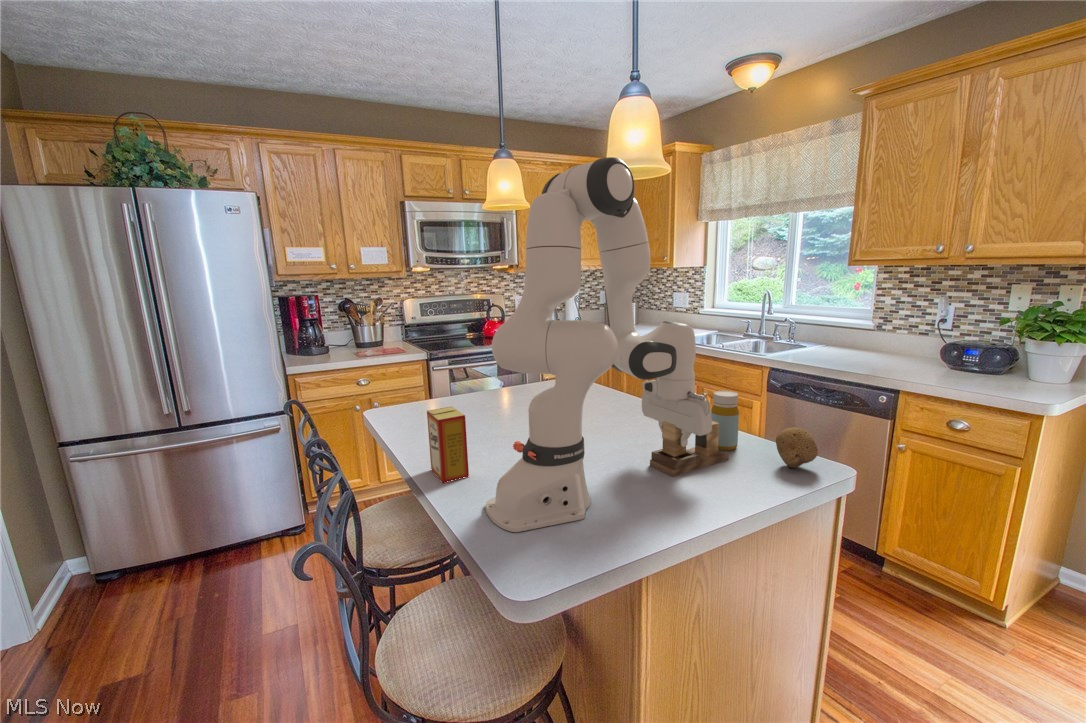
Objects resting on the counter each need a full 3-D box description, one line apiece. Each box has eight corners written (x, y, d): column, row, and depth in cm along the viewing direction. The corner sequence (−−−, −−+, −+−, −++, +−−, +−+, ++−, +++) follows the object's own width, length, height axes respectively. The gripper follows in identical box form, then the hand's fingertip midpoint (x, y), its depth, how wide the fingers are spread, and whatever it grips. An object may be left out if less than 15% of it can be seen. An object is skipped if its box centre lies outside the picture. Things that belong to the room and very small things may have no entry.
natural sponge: (811, 461, 121) (814, 423, 119) (820, 476, 113) (823, 435, 111) (771, 458, 124) (774, 421, 122) (777, 472, 115) (780, 432, 114)
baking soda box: (468, 477, 118) (465, 413, 115) (442, 483, 115) (438, 418, 112) (455, 464, 126) (451, 405, 124) (431, 469, 123) (426, 409, 120)
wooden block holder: (672, 476, 115) (673, 438, 113) (649, 465, 122) (650, 429, 120) (728, 459, 124) (729, 424, 122) (703, 450, 131) (704, 416, 129)
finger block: (674, 456, 118) (675, 425, 116) (662, 451, 121) (663, 421, 120) (686, 452, 120) (687, 422, 119) (675, 448, 124) (675, 417, 122)
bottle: (739, 451, 129) (742, 397, 126) (711, 450, 131) (713, 396, 128) (734, 442, 136) (737, 390, 133) (708, 441, 137) (710, 390, 135)
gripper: (719, 395, 110) (717, 452, 113) (656, 378, 128) (655, 428, 130) (699, 399, 107) (697, 458, 110) (637, 382, 124) (637, 433, 127)
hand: (674, 442), depth 120 cm, fingers closed on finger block, 4 cm apart
